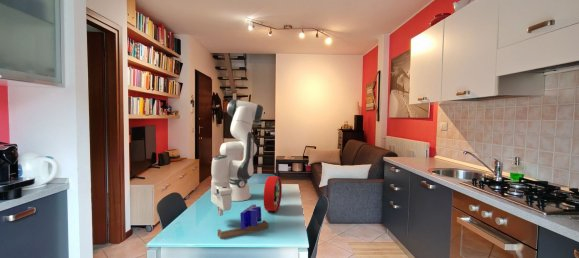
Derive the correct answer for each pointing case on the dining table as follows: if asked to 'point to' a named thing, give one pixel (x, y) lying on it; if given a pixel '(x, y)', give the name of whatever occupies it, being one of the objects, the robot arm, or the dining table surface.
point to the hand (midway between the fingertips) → (220, 214)
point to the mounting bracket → (250, 216)
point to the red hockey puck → (272, 193)
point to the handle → (242, 230)
